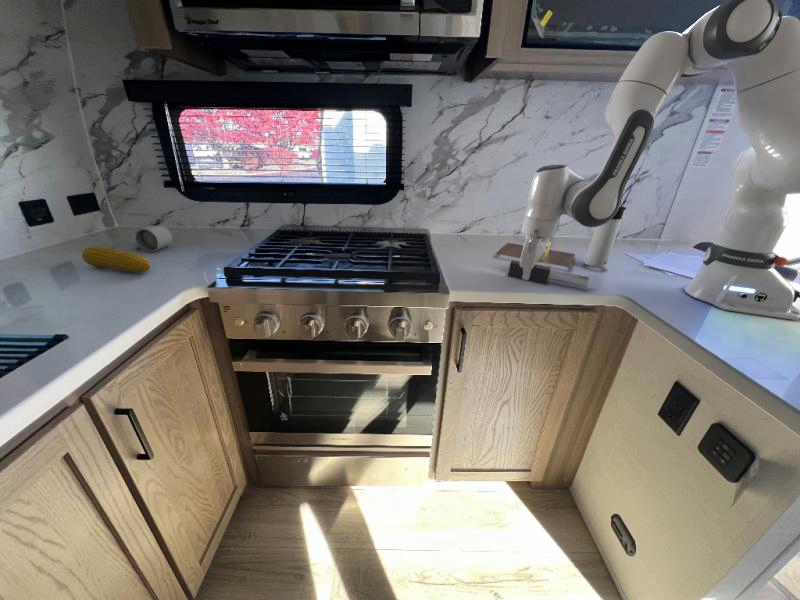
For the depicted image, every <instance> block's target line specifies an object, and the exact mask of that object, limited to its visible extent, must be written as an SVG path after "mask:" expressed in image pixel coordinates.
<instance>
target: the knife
mask: <svg viewBox="0 0 800 600" xmlns="http://www.w3.org/2000/svg"><path fill="white" fill-rule="evenodd" d="M507 276H508V277H509V278H514V279H519V280H524V279H522V277H523V268H522V267H520V260H513V259H512V260H511V261H510V264H509V269H508V273H507ZM589 280H590V277H589V276H583V275H579V274H573V273H568V272H563V271H558V270H552V267H550V266H545V265H541V264H540V265H539V264H537V265H535V266H534V267H533V269H531V274H530V278H529V280H527V282H532V283H533V282H534V283H538V284H542V285H547V284H550V285H554V286H559V287H563V288H568V289H573V290H577V291H583V292H586V289H587V287H588V283H589ZM524 281H525V280H524Z"/></svg>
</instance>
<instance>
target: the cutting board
mask: <svg viewBox="0 0 800 600" xmlns="http://www.w3.org/2000/svg"><path fill="white" fill-rule="evenodd" d="M523 246H524V244H517V243H513V242H507V243H506V244H504V245H503V246H502V247H501V248H500V249H499V250H498V251H496V253H495V254H496V255H500V256H505V257H506V256H507V257H511V258H517V259H520V258H521V254H522V250H523ZM575 255H576V254H575V253H571V252H565V251H559V250H554V249H549V252H548V253H547V255H546V256H545V258H544V261H538V262H539V263H543V264H549V265H555V266H560V267H561V266H562V267H566V268H571V267H572V265H573V261H574V258H575ZM538 262H537V263H538Z"/></svg>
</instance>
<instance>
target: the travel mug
mask: <svg viewBox="0 0 800 600" xmlns="http://www.w3.org/2000/svg"><path fill="white" fill-rule="evenodd" d="M626 210H627V207H625V206H620V207H619V209H618V211H617V213H616V214H615V216H614V217H613V218H612V219H611V220H610V221H608V222H607V223H605V224H603V225H601V226H597V227H594V230H593V234H592V237H591V240H590V243H589V247H588V250H587V254H586V257H585V261H584V263H585V264H586V265H588V266H590V267H595V268H602V271H603V272H604V271H605V270H606V268H607V265H608V262H609V260H610V256H611V253H612V250H613V247H614V245H615V244H614V243H615V240H616V237H617V235H618V231H619V228H620V225H621V222H622V218H623V215H624V212H625V211H626Z"/></svg>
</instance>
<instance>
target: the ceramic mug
mask: <svg viewBox="0 0 800 600" xmlns="http://www.w3.org/2000/svg"><path fill="white" fill-rule="evenodd" d="M134 241H135V243H134V247H135V248H136V249H140V250H142V251H144V252H147V253H153V252H156V251H158V250H161V249H163V248H166V247H168V246H169V245H171V244H172V242H173V233H172V232H171V231H170V229H168V228H167V227H165V226H163V225H152V226H149V227H142V228H139V229H138V230H136V232H135V235H134Z"/></svg>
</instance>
